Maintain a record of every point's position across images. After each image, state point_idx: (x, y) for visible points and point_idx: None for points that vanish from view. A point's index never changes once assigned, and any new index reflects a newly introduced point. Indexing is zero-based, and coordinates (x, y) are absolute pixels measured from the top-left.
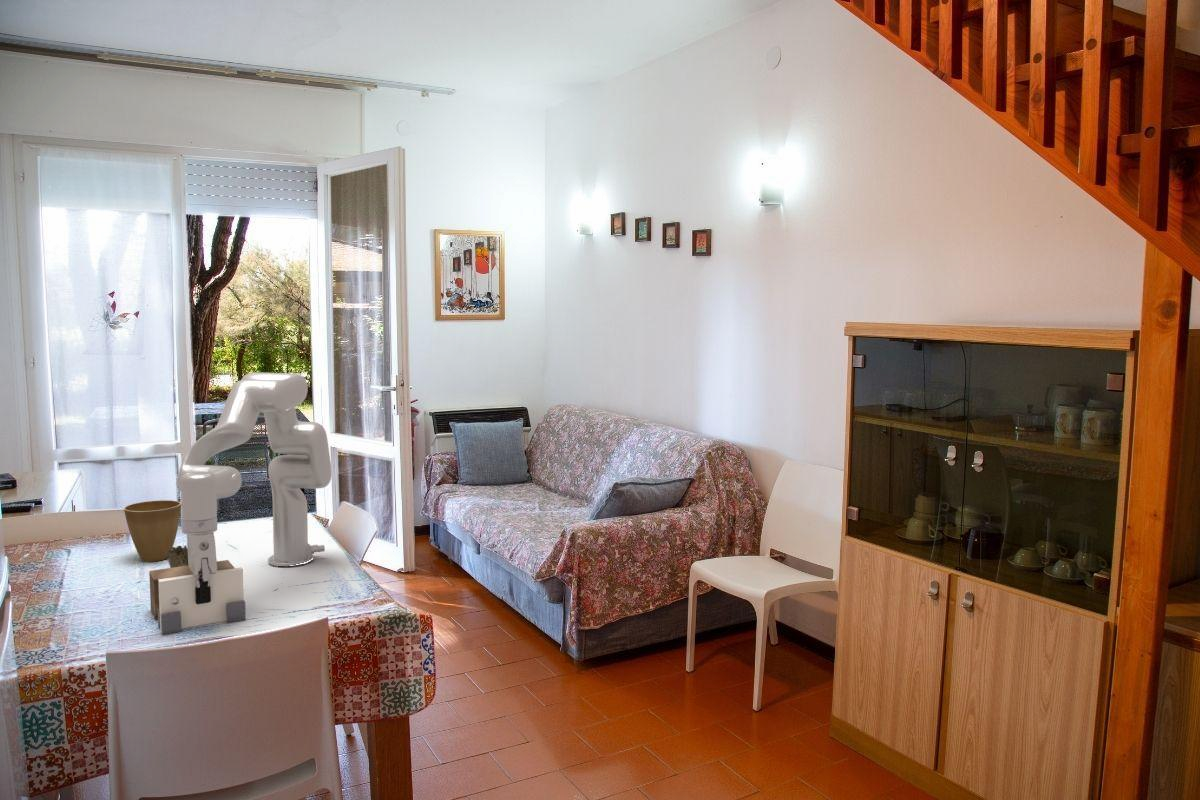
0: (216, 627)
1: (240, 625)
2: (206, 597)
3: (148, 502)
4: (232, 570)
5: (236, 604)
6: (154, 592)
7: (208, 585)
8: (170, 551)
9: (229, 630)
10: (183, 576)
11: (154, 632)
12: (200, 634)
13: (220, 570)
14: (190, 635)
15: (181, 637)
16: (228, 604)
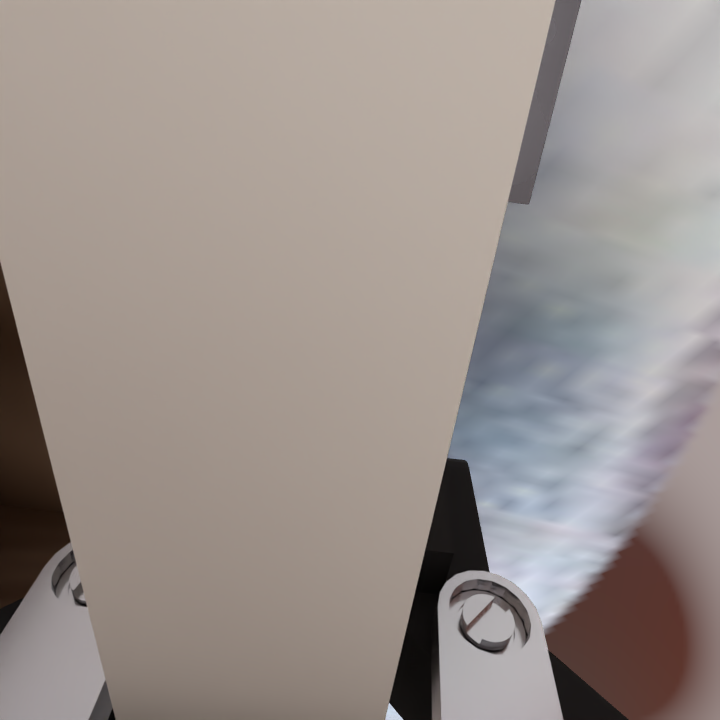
0: (516, 275)
1: (636, 80)
2: (469, 485)
3: None
4: (424, 15)
5: (554, 70)
6: None
7: (523, 622)
8: None
9: (671, 212)
10: None
11: None
12: (569, 402)
13: (94, 512)
14: (536, 450)
15: (528, 493)
16: (528, 186)
